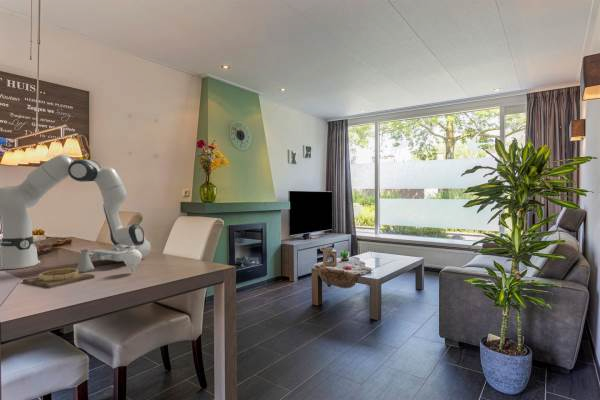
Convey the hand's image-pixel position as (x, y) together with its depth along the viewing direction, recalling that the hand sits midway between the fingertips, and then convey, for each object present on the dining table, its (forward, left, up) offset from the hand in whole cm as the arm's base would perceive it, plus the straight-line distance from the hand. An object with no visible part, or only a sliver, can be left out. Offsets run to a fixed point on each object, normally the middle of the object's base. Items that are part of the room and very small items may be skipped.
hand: (94, 257), depth 160 cm
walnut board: (+7, -20, -5) cm, 22 cm away
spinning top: (+24, +1, -6) cm, 25 cm away
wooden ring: (+7, -20, -4) cm, 21 cm away
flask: (0, -5, -6) cm, 7 cm away
